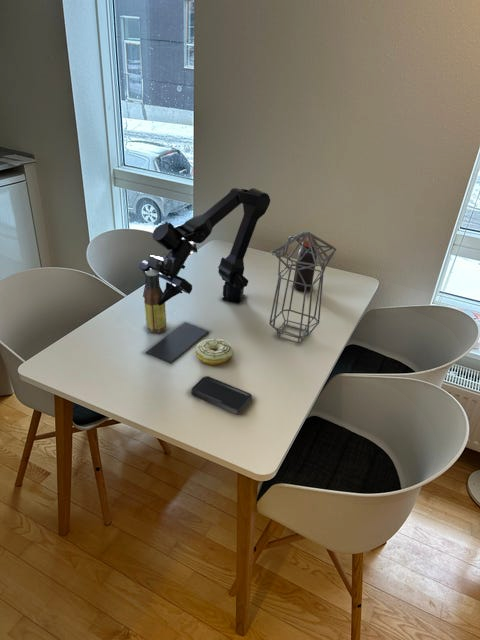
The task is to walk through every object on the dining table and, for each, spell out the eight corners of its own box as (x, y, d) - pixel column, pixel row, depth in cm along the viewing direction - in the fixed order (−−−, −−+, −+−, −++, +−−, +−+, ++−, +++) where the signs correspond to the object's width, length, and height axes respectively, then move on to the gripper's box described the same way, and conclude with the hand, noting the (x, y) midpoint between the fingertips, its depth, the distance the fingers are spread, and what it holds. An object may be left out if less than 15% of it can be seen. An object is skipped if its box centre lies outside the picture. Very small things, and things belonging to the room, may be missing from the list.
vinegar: (314, 287, 182) (322, 238, 171) (306, 294, 177) (314, 244, 166) (298, 282, 185) (305, 233, 174) (290, 288, 180) (297, 239, 169)
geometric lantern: (323, 331, 156) (341, 230, 137) (305, 355, 144) (323, 248, 125) (279, 317, 162) (291, 218, 143) (259, 339, 150) (269, 234, 131)
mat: (185, 323, 155) (185, 322, 155) (208, 331, 151) (208, 330, 151) (145, 353, 140) (145, 351, 140) (170, 363, 136) (170, 362, 136)
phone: (205, 375, 131) (253, 394, 125) (205, 378, 132) (253, 398, 126) (189, 390, 125) (239, 412, 119) (189, 394, 126) (238, 415, 120)
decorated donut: (239, 356, 141) (240, 346, 139) (213, 372, 134) (214, 361, 132) (214, 341, 147) (215, 331, 145) (188, 355, 140) (189, 345, 138)
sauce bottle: (168, 324, 154) (167, 269, 143) (163, 335, 148) (162, 278, 138) (148, 322, 154) (145, 266, 143) (143, 332, 149) (140, 276, 138)
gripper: (141, 236, 144) (114, 280, 142) (185, 254, 135) (158, 302, 133) (161, 252, 154) (136, 294, 152) (203, 271, 144) (178, 315, 143)
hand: (151, 301), depth 145 cm, fingers closed on sauce bottle, 6 cm apart
